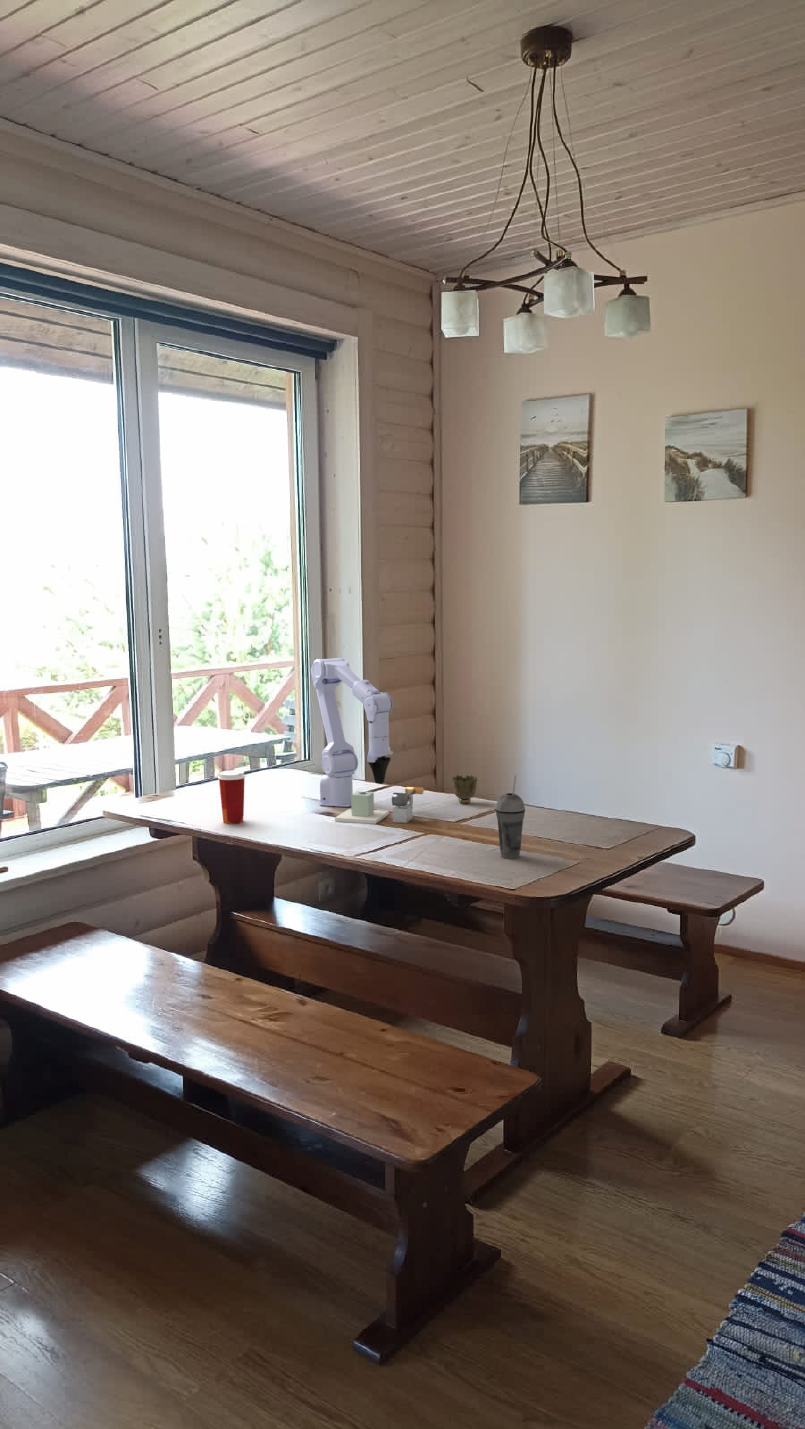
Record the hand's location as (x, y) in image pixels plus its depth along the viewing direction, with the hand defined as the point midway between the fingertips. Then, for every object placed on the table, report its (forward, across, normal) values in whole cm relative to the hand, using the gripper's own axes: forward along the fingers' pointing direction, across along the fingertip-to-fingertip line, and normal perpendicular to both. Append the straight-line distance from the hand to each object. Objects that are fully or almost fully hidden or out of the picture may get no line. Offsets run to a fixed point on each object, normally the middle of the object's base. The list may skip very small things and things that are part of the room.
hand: (379, 783), depth 287 cm
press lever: (+5, +1, -8) cm, 9 cm away
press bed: (+9, -4, +4) cm, 11 cm away
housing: (+8, -4, +4) cm, 10 cm away
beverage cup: (+10, -32, -44) cm, 56 cm away
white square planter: (+9, -4, -8) cm, 13 cm away
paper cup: (+10, -18, +38) cm, 43 cm away
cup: (+10, +21, -20) cm, 31 cm away
